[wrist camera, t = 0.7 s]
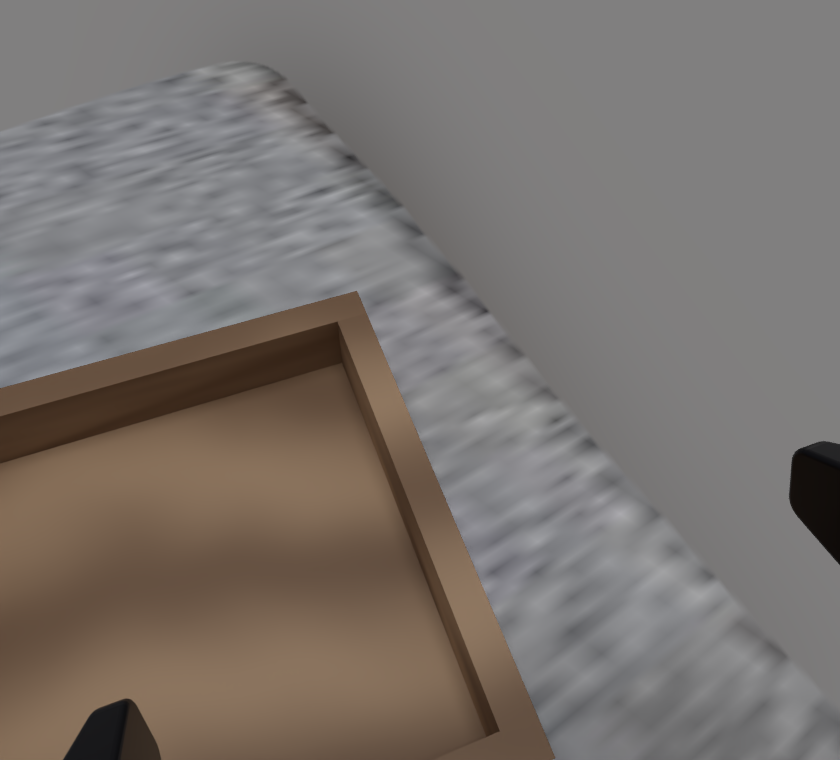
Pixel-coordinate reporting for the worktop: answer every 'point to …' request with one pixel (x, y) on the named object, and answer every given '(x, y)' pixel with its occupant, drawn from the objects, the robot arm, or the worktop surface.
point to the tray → (244, 558)
